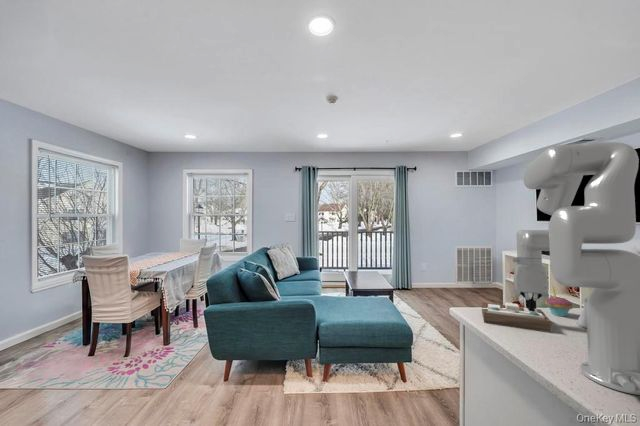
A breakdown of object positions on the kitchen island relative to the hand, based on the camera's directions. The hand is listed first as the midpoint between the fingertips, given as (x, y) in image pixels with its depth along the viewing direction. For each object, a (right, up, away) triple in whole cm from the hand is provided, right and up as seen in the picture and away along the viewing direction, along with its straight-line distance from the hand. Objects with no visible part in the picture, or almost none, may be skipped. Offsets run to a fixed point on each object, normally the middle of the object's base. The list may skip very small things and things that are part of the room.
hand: (531, 310), depth 103 cm
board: (-6, -5, +1) cm, 8 cm away
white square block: (-11, -3, +6) cm, 12 cm away
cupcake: (+18, -5, +9) cm, 21 cm away
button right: (0, -3, 0) cm, 3 cm away
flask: (+18, -5, -5) cm, 19 cm away
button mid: (-5, -2, +3) cm, 6 cm away
